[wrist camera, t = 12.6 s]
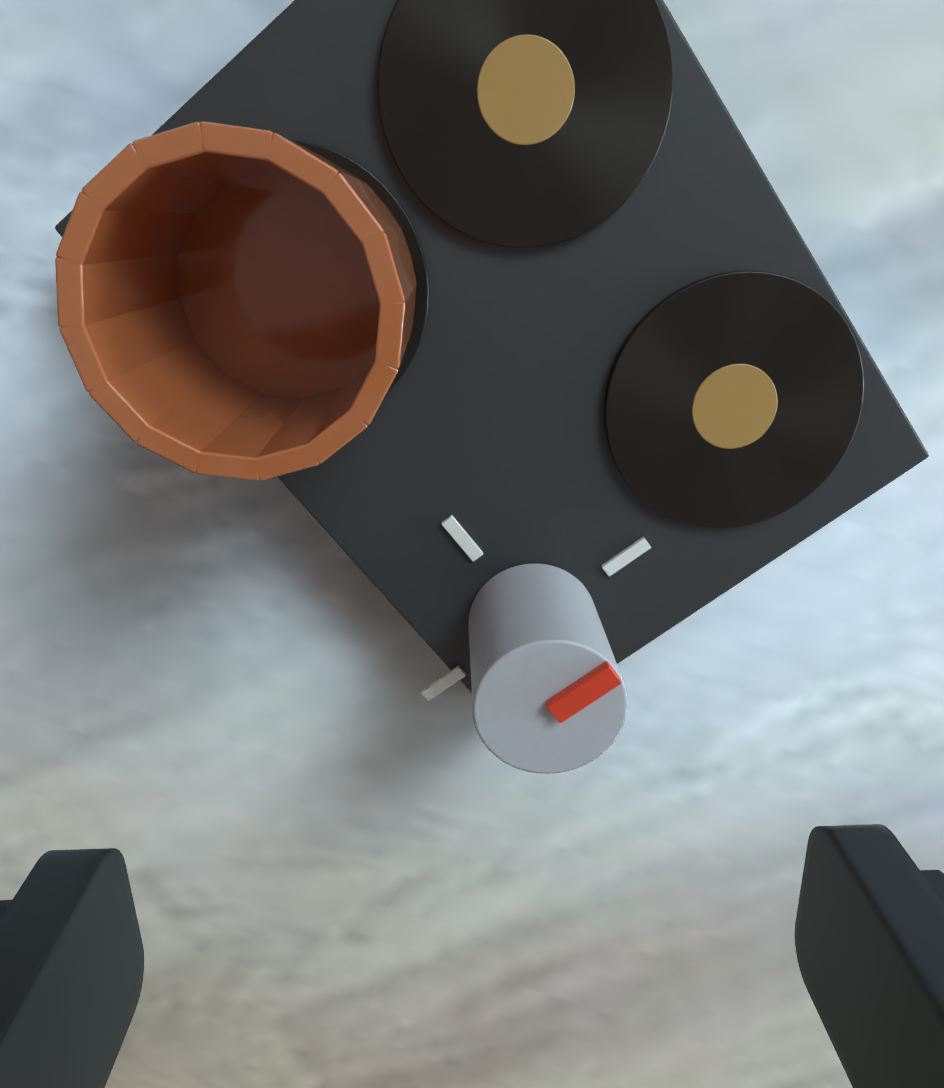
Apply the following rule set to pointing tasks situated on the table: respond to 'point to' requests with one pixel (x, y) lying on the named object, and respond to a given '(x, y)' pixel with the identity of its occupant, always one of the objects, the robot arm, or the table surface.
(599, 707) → the hob knob
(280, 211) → the copper pot
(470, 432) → the hob
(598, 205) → the burners
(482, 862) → the table surface
